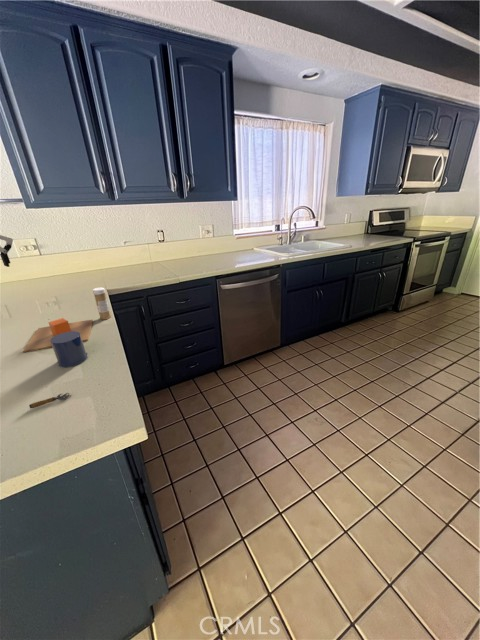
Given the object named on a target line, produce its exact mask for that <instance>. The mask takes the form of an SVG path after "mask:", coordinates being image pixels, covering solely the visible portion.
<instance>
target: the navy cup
mask: <svg viewBox="0 0 480 640" xmlns="http://www.w3.org/2000/svg"><path fill="white" fill-rule="evenodd" d="M50 342H51V344H52V347H51V348H52V349H53V352H54V355H55V358H56V361H57V363H56V364H57V366H58V367H60V368H70V367H71V368H72V367H75V366H79V365H80V364H82V363H84V362H86V361H87V360H88V357H89V356H88V352H87V351H86V348H85V345H84V341H82V338H81V335H80V333H79V332H77V331H70V332H64V333H61V334H58V335H56V336H54V337H53V338H51V340H50Z"/></svg>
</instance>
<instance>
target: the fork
mask: <svg viewBox="0 0 480 640" xmlns="http://www.w3.org/2000/svg"><path fill="white" fill-rule="evenodd" d="M71 396H72V394H70V393H69V392H66V393H64V394H62V393H59V394H58V395H56V396H52V397H50V398H47V399H42V400H39V401H36V402H32V403H30V404H29V406H28V407H29V409H34V408H38V407H41V406H43V405H46V404H49V403H52V402H55V401H57V400H58V401H64V400H66V399H68V398H70V397H71Z"/></svg>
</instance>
